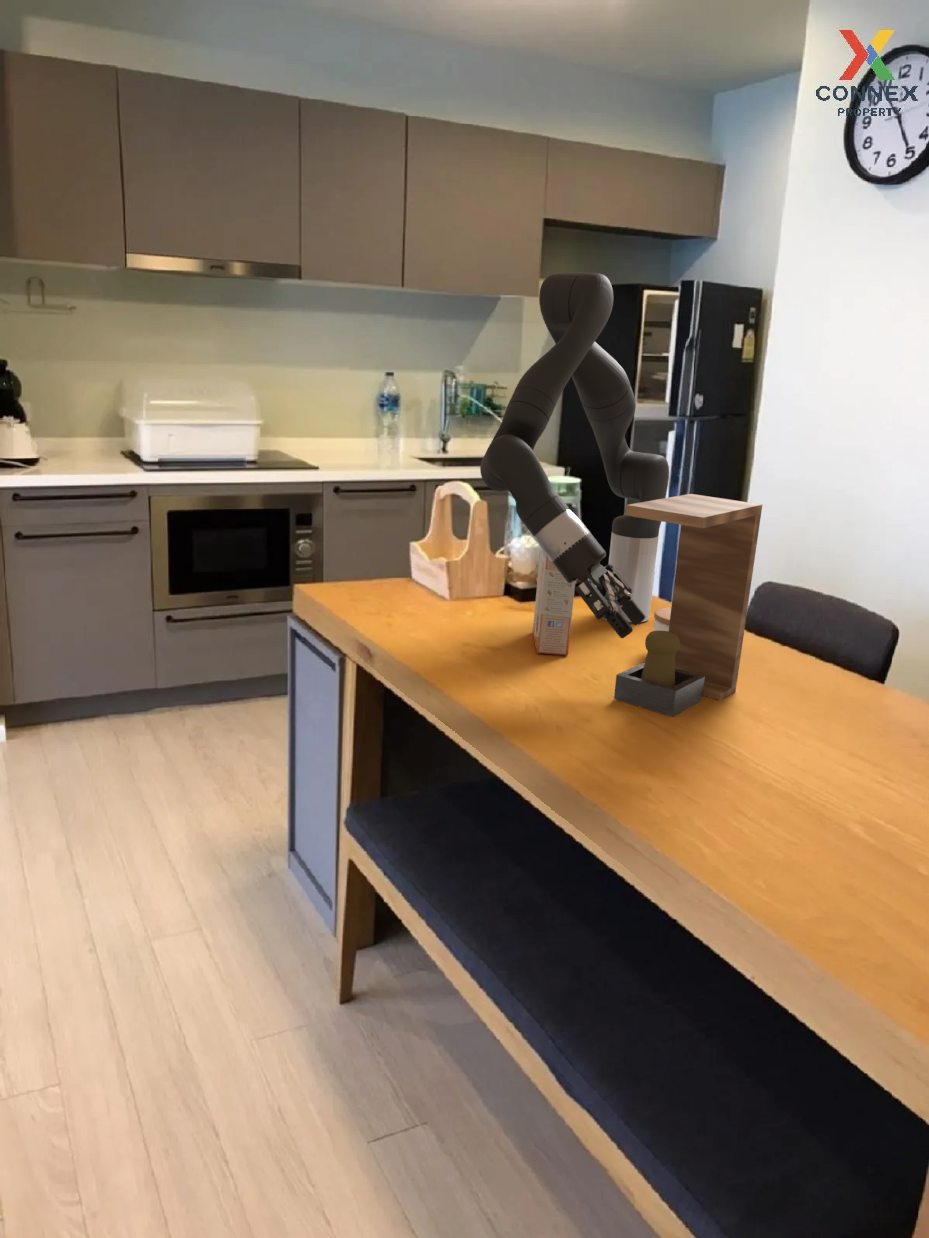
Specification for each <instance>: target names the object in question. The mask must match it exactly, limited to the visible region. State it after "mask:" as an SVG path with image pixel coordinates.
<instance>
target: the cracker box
mask: <svg viewBox="0 0 929 1238" xmlns="http://www.w3.org/2000/svg"><path fill="white" fill-rule="evenodd" d="M536 582H537V584H536V594H535V603H534V613H533V614H534V615H533V623H532V635H533V640H534V644H535V650H536V654H545V655H556V656H568V654H569V647H570V646H569V645H570V636H571V627H572V626H571V625H572V617H573V609H574V608H573V607H574V598H575V591H576V580H575V581H574V582H572V583H568V582H567V581H566V579H565V578H564V577H563V576H562V574H561V573H560V572H559V571H558V569H557V568H556V567H555V565H554V564H553V563H552V562H551V560H550V559H549V558H548V556H547V555H546V554H545V553H544V551H543V550H542V548H541V547H540V552H539V561H538V573H537V581H536Z"/></svg>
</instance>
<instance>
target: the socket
mask: <svg viewBox="0 0 929 1238" xmlns="http://www.w3.org/2000/svg"><path fill="white" fill-rule="evenodd" d="M644 665H645V661H644V662H643V663H640V664H638V665H636V666H634V667H631V668H629V669H627V670H624V671H622V672H619V673H617V674H616V676H615V687H614V696H613V699H614V700H615V701H619V702H623V703H625V704H629V705H632V706H636V707H639V708H642V709H645V710H649V711H652V712H656V713H659V714H662V715H666V716H669V717H675V716H676V715H678V714H680V713H682V712H684V711H685V710H687V709H689V708H692V707H693V706H695V705H696V704H698V703H699V702H702V701H703V700H702V699H703V695H702V694H703V686H704V679H705V676H701V675H697V674H694V673H690V672H686V671H682V670H679V669H675V686H674V687H669V686H665V685H661V684H658V683H654V682H651V681H647V680H644V679H641V676H642V672H643V669H644Z"/></svg>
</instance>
